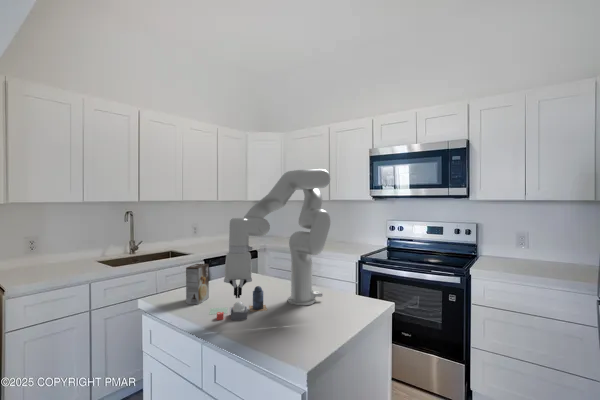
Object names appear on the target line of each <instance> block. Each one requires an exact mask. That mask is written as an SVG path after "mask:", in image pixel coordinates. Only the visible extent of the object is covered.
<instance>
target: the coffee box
mask: <svg viewBox="0 0 600 400" xmlns="http://www.w3.org/2000/svg"><path fill="white" fill-rule="evenodd" d="M209 266H210V265H209V263H195V264H192V265H190V266H188V267H186V268H185V286H186V287H185V288H186V289H185V301H186V302H185V303H186V304H188V305H189V304H190V305H200V304H202V303H203V302H205V301H206V300H208V299H209V298H210V295H209V294H210V288H209V287H210V285H209V284H210V283H209V281H210V279H209V278H210V277H209V274H210V273H209V272H210V271H209V270H210V268H209Z"/></svg>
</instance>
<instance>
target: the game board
mask: <svg viewBox="0 0 600 400" xmlns="http://www.w3.org/2000/svg"><path fill="white" fill-rule="evenodd" d="M244 306H245V312H234V313H233V306H230V307H216V308H215V307H213V308H209V313H208V315H209V316H210V315H216V321H223V320H224V318H225V317H224V314H228V309H229V314H230V321H239V320H240V321H241V320H247V319H248V307H249V312H250V313H253V312H264V311H265V312H267V311H268V307H267V305H266V304H263V309H261V310H254V309H253V305H249V306H248V305H244Z"/></svg>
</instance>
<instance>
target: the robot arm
mask: <svg viewBox="0 0 600 400" xmlns="http://www.w3.org/2000/svg"><path fill="white" fill-rule="evenodd" d="M330 175H331V174H330V173H329V171H327V170H326V169H323V168H318V169H316V168H314V169H313V168H312V169H296V170H295V169H294V170H288V171H285V172H284V174H282V176H281V177H280V178H279V179H278V180H277V182H276V183H275V185H274V186H273V188H272V189H270V191H269V192H268V193H267V194H266V195H265V196H264V197H262V198H261V199H260V200H259V201H257V202H256V203H255V204H254V205H253V206H252V207H250V209H249V210H248V211H247V212H246V214H245V215H244V217H232V218H230V220H229V235H228V236H229V237H228V239H229V240H228V252H227V253H226V255H225V263H224V264H225V265H224V279H223V283H226V284H230V285H231V287H233V296H235V299H240V298H241V296H242V293H243V292H242V291H243V286H245V285H246V284H247V283H251V282H252V281H253V279H252V278H253V277H252V271H253V269H252V255H251V252H250V251H253V246H251V245H249V243H250V240H249V239H250V236H251V237H264V236H266V235H267V234H268V233H269V232H270V229H271V225H270V223H269V221H268V220H267V219H265V218H266V217H267V216H268V215H269V214H272V213H273V212H275V211H278V210H280V209H282V208H284V207H285V206H286V204H287V202H288V201H289V200H290V199H291V197H292V196H293V194H294V193H296V191H299V190H300V191H303V194H304V195H303V196H304V198H303V202H302V203H303V204H302V207H301V209H300V213H299V216H298V226H300V228H301V229H305V230H309V231H303V230H302V231H301V230H299V231H295V232H293V233H292V234H291V235H290V237H289V239H288V246H289V251H290V263H291V264H290V272H291V273H290V296H288V297H287V302H288V303H289V304H290V305H294V306H310V305H313V304H315V303H316V298H323V292H321V291H320V292H319V291H313V259H312V256H318V255H319V254H321V253H322V252H323V250H324V248H325V245H326V242H327V238H328V235H329V231H330V227H331V216H330V214H329V212H328V211H327V210H324V209H322V204H323V196H322V194H321V190H320V189H323V188H327V187H328V186H329V184H330V182H331V176H330ZM237 280H238V281H239V284H237Z"/></svg>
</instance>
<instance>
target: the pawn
mask: <svg viewBox="0 0 600 400" xmlns="http://www.w3.org/2000/svg"><path fill="white" fill-rule="evenodd" d="M263 305H264V290H263V289H262V287H261V286H260V285H258V286H256V285H255V287H254V289H253V291H252V306H253V309H254V310H261V309H263Z"/></svg>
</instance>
